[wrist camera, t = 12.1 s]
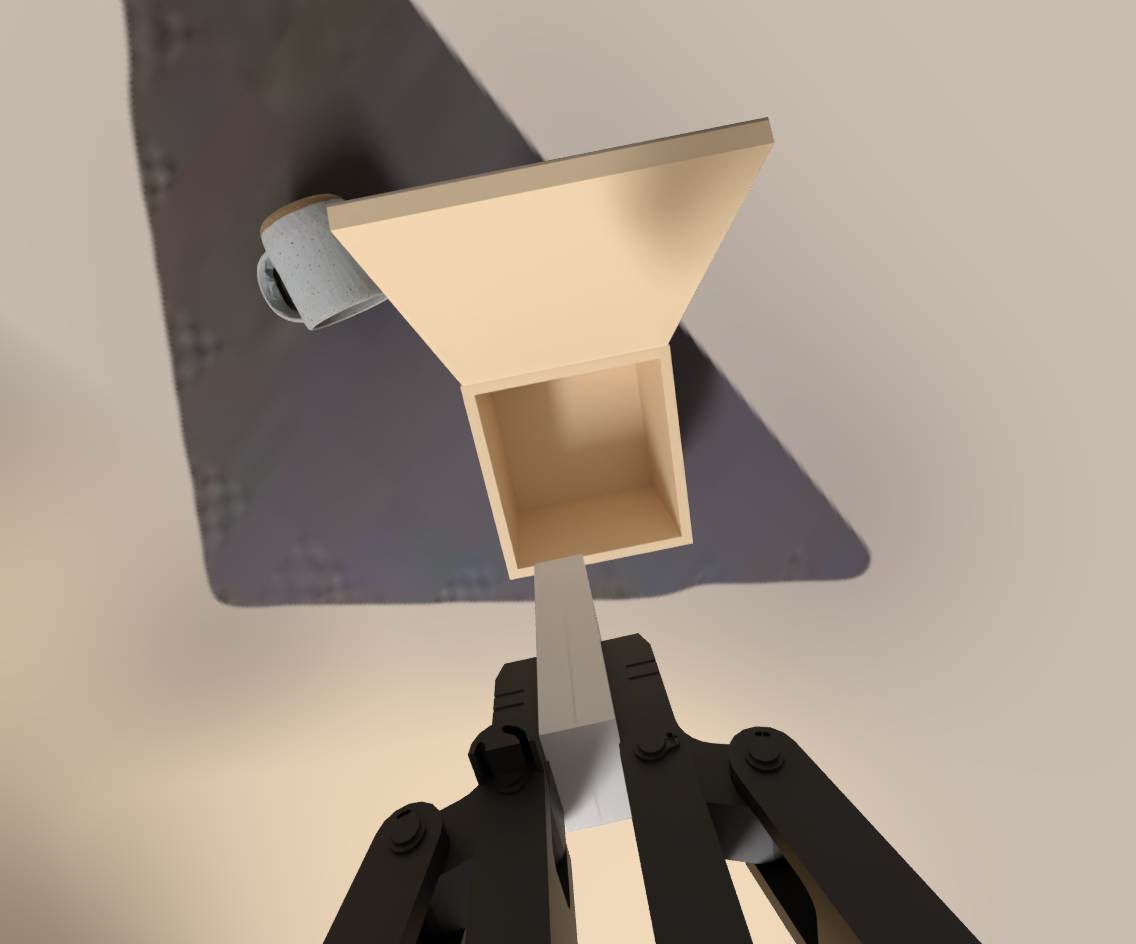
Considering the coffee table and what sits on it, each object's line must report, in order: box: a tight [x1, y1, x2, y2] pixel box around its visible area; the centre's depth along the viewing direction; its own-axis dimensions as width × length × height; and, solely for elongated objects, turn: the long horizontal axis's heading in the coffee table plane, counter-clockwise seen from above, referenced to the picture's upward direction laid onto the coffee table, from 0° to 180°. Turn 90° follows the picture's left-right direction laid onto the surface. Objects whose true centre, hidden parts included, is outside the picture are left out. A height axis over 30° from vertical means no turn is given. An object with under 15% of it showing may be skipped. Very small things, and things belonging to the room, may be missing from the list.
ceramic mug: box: [257, 194, 388, 330], centre depth 43 cm, size 11×8×8 cm
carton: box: [460, 344, 693, 580], centre depth 47 cm, size 16×15×12 cm
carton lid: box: [326, 117, 774, 386], centre depth 28 cm, size 21×15×1 cm
